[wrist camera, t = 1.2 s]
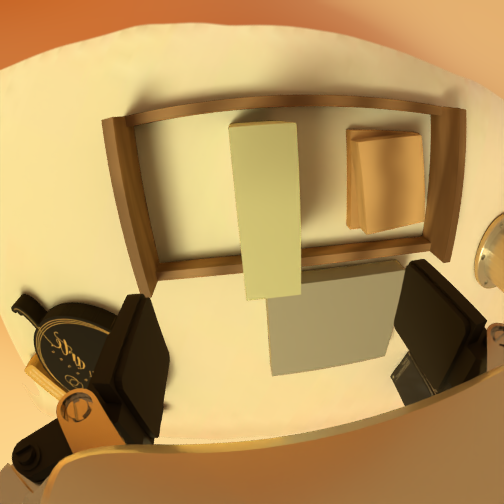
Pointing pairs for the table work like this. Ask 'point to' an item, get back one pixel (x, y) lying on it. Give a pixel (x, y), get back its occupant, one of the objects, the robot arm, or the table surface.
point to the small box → (411, 381)
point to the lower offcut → (351, 185)
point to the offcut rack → (434, 240)
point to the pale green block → (268, 206)
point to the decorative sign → (65, 343)
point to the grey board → (334, 317)
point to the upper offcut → (389, 181)
